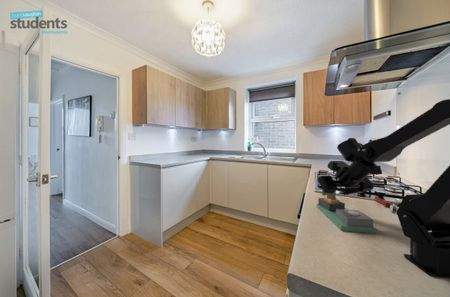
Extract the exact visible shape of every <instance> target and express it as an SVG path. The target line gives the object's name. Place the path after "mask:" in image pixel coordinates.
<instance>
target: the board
mask: <svg viewBox="0 0 450 297" xmlns="http://www.w3.org/2000/svg"><path fill="white" fill-rule="evenodd" d="M316 208H317V209H318V210H319V211H320V212H322V214H323V215H324V216H325V217H326V218H327V219H329V221H331V222H332V224H334V225H335V226H336V228H338V229H339V230H340V231H342V232H343V231H344V232H355V233H357V232H358V233H369V234H370V233H371V234H376V229H377V228H376V227H375V226H373V227H362V226H348V225H346V224H345V223H344V222H343V221H341V220H340V219H339V218H338V217H337V216H336V211H328V210H327V209H325V208H323V207H321V206H319V205H318V203H316ZM345 210H349V209H348V208H347V207H345Z"/></svg>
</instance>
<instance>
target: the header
mask: <svg viewBox="0 0 450 297" xmlns="http://www.w3.org/2000/svg"><path fill="white" fill-rule="evenodd" d="M317 202H318V203H317V204H318V205H319V206H321V207H323V208H325V209H327V210H328V211H336V209H343V210H345V208H346V204H345V202H342V201H340V200H339V203H329V202H327V201H325V200H324V197H318V201H317Z"/></svg>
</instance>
